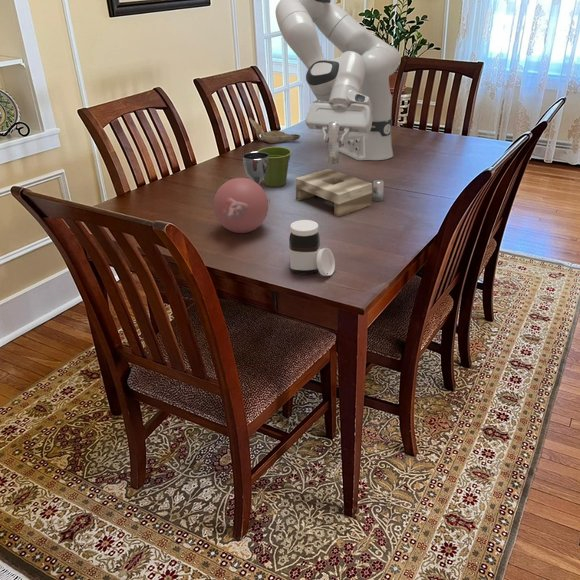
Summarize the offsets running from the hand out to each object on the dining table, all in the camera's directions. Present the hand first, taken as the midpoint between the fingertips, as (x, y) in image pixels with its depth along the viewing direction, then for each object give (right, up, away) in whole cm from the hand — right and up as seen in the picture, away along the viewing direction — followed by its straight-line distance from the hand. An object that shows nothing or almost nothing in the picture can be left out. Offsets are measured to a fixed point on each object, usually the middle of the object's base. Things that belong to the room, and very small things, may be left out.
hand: (333, 142), depth 178 cm
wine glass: (-23, -16, +13) cm, 31 cm away
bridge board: (+1, -16, +10) cm, 19 cm away
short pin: (+15, -15, +11) cm, 24 cm away
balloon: (-27, -29, -9) cm, 41 cm away
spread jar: (-7, -39, -29) cm, 50 cm away
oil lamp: (-19, +18, +71) cm, 76 cm away
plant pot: (-18, -8, +26) cm, 33 cm away
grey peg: (0, -5, +4) cm, 6 cm away
